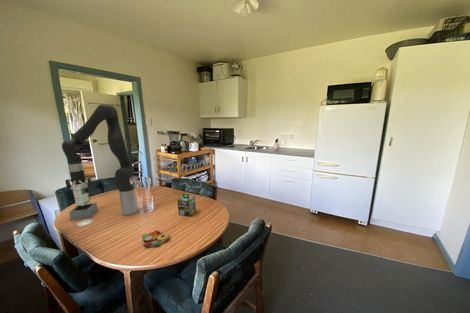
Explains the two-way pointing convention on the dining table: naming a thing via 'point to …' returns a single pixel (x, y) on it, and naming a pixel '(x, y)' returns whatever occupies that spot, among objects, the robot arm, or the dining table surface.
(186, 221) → the dining table surface
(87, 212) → the housing
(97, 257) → the dining table surface
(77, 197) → the syrup box
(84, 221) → the coaster
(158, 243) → the toy food set
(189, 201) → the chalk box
